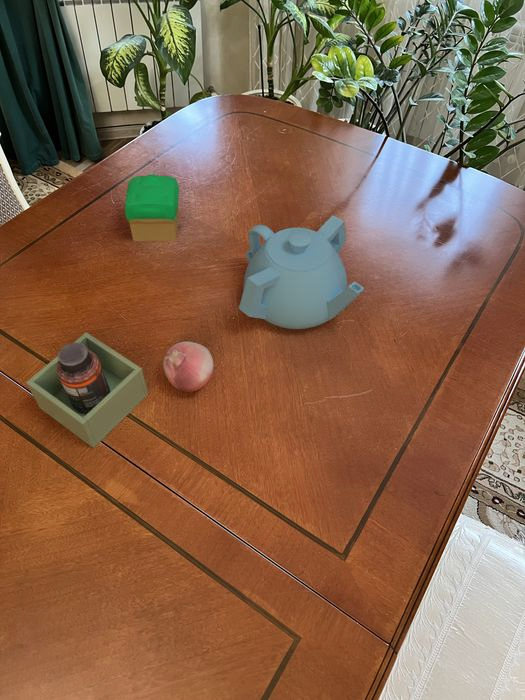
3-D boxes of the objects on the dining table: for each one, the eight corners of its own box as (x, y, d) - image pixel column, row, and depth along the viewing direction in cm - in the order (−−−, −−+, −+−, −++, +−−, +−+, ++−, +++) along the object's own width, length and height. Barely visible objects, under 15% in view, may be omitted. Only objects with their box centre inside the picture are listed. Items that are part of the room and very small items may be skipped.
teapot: (239, 336, 95) (238, 276, 84) (242, 257, 107) (242, 196, 96) (354, 338, 95) (368, 279, 85) (344, 259, 107) (355, 199, 96)
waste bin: (93, 448, 82) (82, 424, 77) (39, 408, 86) (25, 382, 81) (148, 394, 88) (142, 368, 82) (95, 359, 92) (86, 332, 86)
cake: (183, 208, 116) (178, 165, 108) (180, 243, 109) (175, 200, 101) (134, 208, 115) (126, 165, 107) (128, 244, 109) (119, 200, 101)
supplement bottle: (96, 376, 89) (79, 329, 80) (119, 399, 86) (104, 353, 77) (63, 398, 86) (42, 352, 77) (86, 423, 84) (66, 378, 75)
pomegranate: (160, 366, 91) (154, 338, 85) (205, 352, 93) (202, 323, 87) (175, 406, 87) (170, 379, 81) (223, 389, 89) (221, 362, 83)
